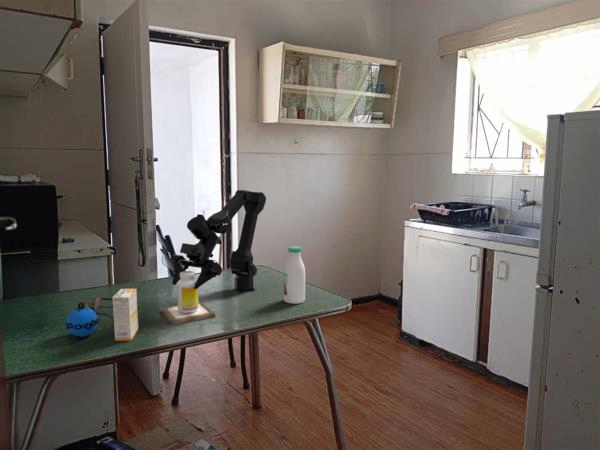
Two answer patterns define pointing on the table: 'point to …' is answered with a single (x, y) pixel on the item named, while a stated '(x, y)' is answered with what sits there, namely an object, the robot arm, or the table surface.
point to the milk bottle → (294, 277)
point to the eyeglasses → (96, 305)
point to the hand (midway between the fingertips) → (184, 286)
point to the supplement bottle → (187, 293)
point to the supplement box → (125, 314)
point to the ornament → (82, 321)
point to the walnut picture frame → (187, 314)
